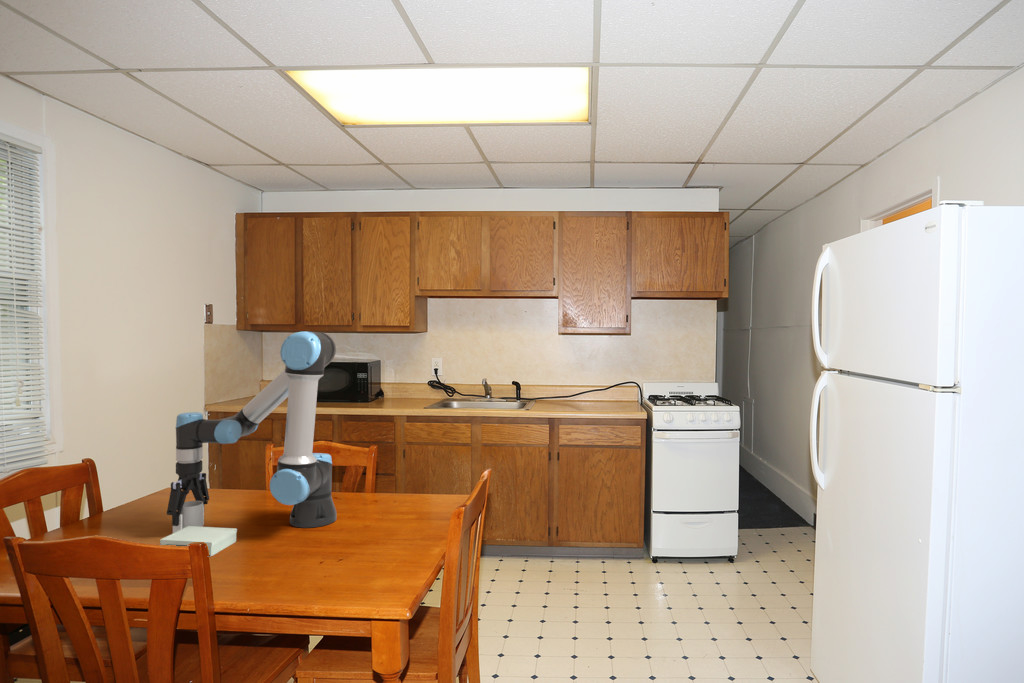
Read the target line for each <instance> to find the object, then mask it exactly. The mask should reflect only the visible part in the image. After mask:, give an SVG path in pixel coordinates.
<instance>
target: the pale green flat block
mask: <svg viewBox="0 0 1024 683" xmlns="http://www.w3.org/2000/svg"><path fill="white" fill-rule="evenodd" d="M237 532H238V528H233V527H213V526H203V527H198V526H188V527H185V528H183V529H181V530H179V531H177V532H175V533H173V532H172V533H171V534H169V535H166V536H164V537H163V538H161V539H160V540H159V542H160V543H159V544H160V546H161V545H176V546H180V547H182V546H189V545H188V544H190V543H193V542H204V543H206V544H207V546H208V550H209V555H210V556H209V557H212V556H215V555H216V554H218V553H220V552H221V551H222V550H225V549H226V548H228V547H230V546H231V545H233V544H235V543H236V542H237Z"/></svg>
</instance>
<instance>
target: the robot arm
mask: <svg viewBox="0 0 1024 683" xmlns="http://www.w3.org/2000/svg"><path fill="white" fill-rule="evenodd" d="M336 352H337V348H336V343H335V341H334V339H333V338H332V337H331V336H330V335H328V334H327V333H324V332H321V331H306V330H305V331H299V332H298V331H297V332H293V333H292V334H290V335H288V336H287V337H286V338H285V339H284V340H283V341H282V344H281V346H280V352H279V353H280V358H281V361H282V362H283V363H284V365H285V366H284V367H285V369H283V370H282V371H281V372H280V373H279V374H278V375H277V376H276V377H275V378H273V380H271V381H270V382H269V383H268V384H267V385H266V386H265V387H264V388H262V390H261V391H260V392H258V393H257V394H256V395H255V396H254V397H253V398H252V399H251V400H250V401H249V402H248V403H246V405H244V406H243V407H242V408H241V409H240V410H239V411H238V412H237V413H236V414H235V415H232V416H228V417H223V418H220V419H205V418H204V415H203V413H202V412H196V411H195V412H194V411H192V412H182V413H179V414H178V415H177V416H176V420H175V423H176V424H175V442H176V443H175V461H176V463H175V473H176V475H178V479H177V481H176V482H175V481H172V482H171V483H170V493H169V499H168V505H167V510H166V515H167V516H171V517H172V518H171V524H172V534H173V533H175V532H177V531H179V530H181V529H182V514H181V511H182V508H183V505H184V502H186V498H187V495H188V494H190V491H191V493H192V496H193V497H194V501H202V502H203V526H204V525H205V505H208V502H209V500H210V495H209V489H208V482H207V473H206V472H203V460H202V459H203V458H204V456H203V454H204V453H203V450H204V449H203V448H204V447H203V444H222V445H226V444H235V443H237V442H238V440H240V438H241V437H247V436H249V435H251V434H252V433H254V432H256V431H257V429H258V426H259V425H260V423H262V421H263V420H264V419H265V418H266V417H268V416H269V415H270V414H271V413H272V412H273V411H274V410H276V408H278V406H280V405H281V404H282V403H283V402H284V401H285V400H286V399H287V406H286V422H285V433H284V434H285V435H284V443H283V444H284V446H283V454H282V455H281V456H280V457H278V460H277V467H276V468H277V469H276V472H275V473H274V474H273V475H272V477H271V478H270V481H269V490H270V493H271V496H272V497H273V498H275V499H276V501H277V502H278V503H280V504H282V505H286V506H293V507H292V509H291V512H290V516H289V524H290V525H291V526H293V527H295V528H303V529H304V528H306V529H307V528H317V527H322V526H328V525H331V524H333V523H334V522H336V521H337V509H336V507H335V504H334V501H333V497H332V487H333V486H332V485H333V484H332V483H333V482H332V481H333V479H332V477H333V474H332V473H333V471H332V470H333V460H332V456H331V454H329V453H323V452H313V449H314V438H315V437H314V436H315V426H316V425H315V424H316V413H317V398H318V388H319V381H320V379H321V378H323V377H324V373H325V368H326V367H327V366H328V365H329V364H330V363H332V361H333V360H334V358H335V356H336Z"/></svg>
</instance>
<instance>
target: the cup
mask: <svg viewBox="0 0 1024 683" xmlns="http://www.w3.org/2000/svg"><path fill="white" fill-rule="evenodd" d="M181 514H182V529H183V528H185V527H188V526H198V527H204V525H203V502H202V501H196V500H190V501H185V502H184V505H183V508H182V511H181Z"/></svg>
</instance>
